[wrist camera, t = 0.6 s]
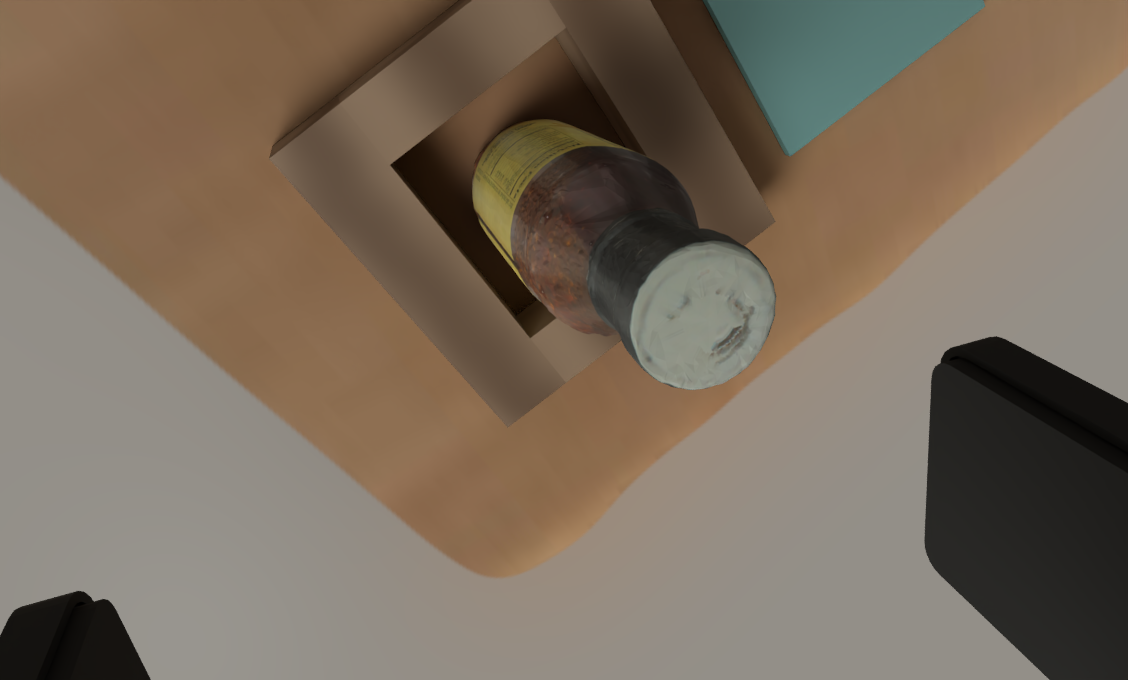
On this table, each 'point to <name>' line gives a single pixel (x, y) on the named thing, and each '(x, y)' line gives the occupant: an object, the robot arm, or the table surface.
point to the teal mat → (827, 52)
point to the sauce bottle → (622, 252)
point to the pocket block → (437, 92)
